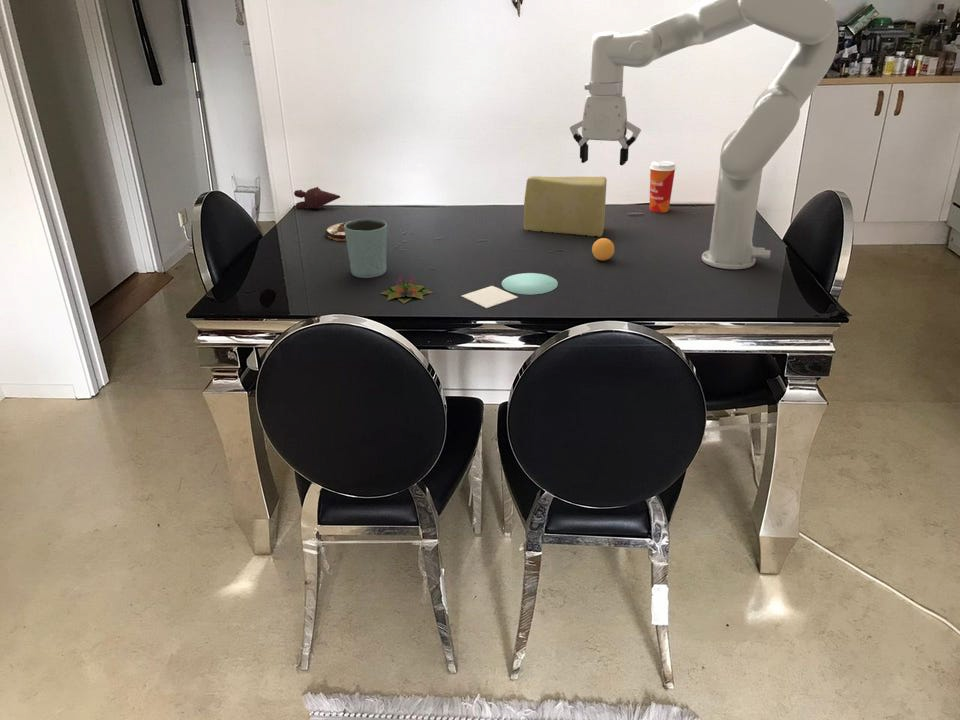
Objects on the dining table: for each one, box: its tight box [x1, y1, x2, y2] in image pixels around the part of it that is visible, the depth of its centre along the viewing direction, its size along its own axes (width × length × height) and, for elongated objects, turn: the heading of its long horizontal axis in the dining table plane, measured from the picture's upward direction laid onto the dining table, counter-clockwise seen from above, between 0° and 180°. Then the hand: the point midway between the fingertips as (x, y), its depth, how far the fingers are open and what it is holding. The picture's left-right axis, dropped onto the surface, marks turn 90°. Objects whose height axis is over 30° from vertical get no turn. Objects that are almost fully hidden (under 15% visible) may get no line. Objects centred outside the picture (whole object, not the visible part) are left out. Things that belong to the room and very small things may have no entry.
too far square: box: [461, 285, 519, 309], centre depth 167 cm, size 9×9×1 cm
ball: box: [591, 237, 615, 262], centre depth 185 cm, size 6×6×6 cm
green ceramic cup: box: [344, 218, 388, 279], centre depth 180 cm, size 10×10×12 cm
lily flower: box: [379, 274, 435, 304], centre depth 169 cm, size 12×12×5 cm
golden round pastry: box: [325, 220, 350, 242], centre depth 209 cm, size 15×15×4 cm
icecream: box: [293, 186, 341, 210], centre depth 233 cm, size 7×7×15 cm
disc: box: [501, 272, 559, 296], centre depth 173 cm, size 13×13×1 cm
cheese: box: [523, 175, 608, 238], centre depth 204 cm, size 22×10×15 cm, turn 78°
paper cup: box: [649, 160, 677, 214], centre depth 220 cm, size 8×8×14 cm
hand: (603, 163), depth 183 cm, fingers open, 9 cm apart
